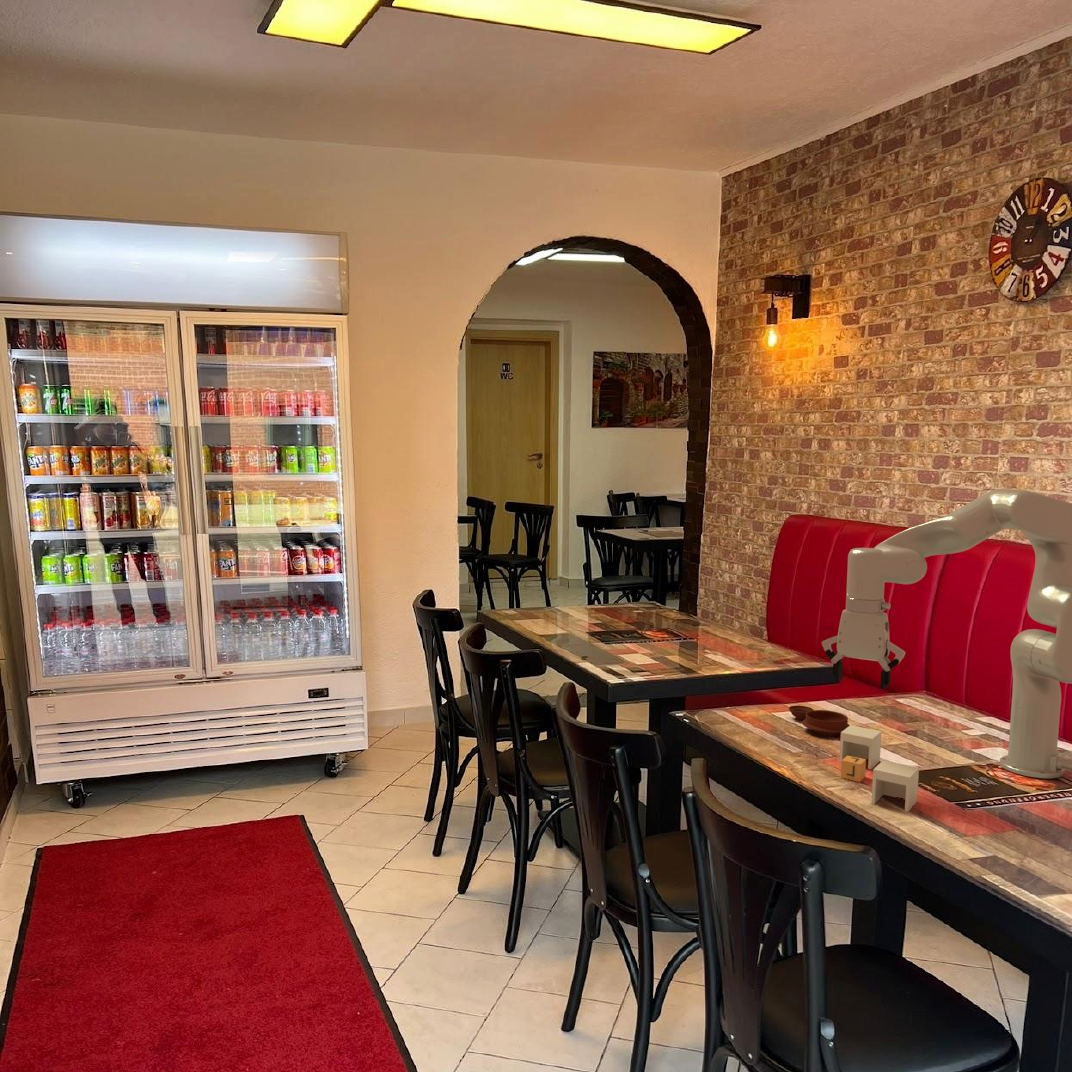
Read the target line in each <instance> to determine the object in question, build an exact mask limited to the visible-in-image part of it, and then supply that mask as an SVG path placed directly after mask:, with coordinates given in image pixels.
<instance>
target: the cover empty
mask: <svg viewBox="0 0 1072 1072" xmlns="http://www.w3.org/2000/svg"><path fill="white" fill-rule="evenodd" d="M875 766H876V765H875ZM875 766H874V767H873V768H872V770H873V771H872V784H871V785H872V786H871V802H870V803H871V804H874V805H875V804H876V803H877V802H878V801H879V800H880V799H881V798H882V796H889V797H891V798H896V797H900V798H904V799H903V800H905V803H904V812H906V811H907V812H906V813H909V812H910V810H911V809H912V808H913V807H914V806H915V805H916V804H917V802H918V790H919V773H920V767H917V766H912V765H907V764H903V763H899V762H893V761H889V760H884V759H882V761H881V762H880V763H878V764H877V766H876V767H875ZM880 797H881V798H880ZM900 798H899V799H900ZM913 805H914V806H913ZM912 806H913V807H912Z"/></svg>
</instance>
